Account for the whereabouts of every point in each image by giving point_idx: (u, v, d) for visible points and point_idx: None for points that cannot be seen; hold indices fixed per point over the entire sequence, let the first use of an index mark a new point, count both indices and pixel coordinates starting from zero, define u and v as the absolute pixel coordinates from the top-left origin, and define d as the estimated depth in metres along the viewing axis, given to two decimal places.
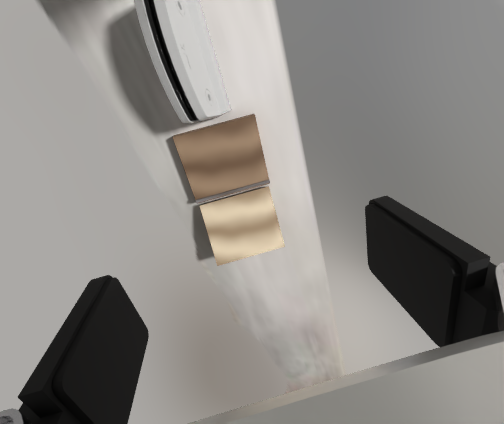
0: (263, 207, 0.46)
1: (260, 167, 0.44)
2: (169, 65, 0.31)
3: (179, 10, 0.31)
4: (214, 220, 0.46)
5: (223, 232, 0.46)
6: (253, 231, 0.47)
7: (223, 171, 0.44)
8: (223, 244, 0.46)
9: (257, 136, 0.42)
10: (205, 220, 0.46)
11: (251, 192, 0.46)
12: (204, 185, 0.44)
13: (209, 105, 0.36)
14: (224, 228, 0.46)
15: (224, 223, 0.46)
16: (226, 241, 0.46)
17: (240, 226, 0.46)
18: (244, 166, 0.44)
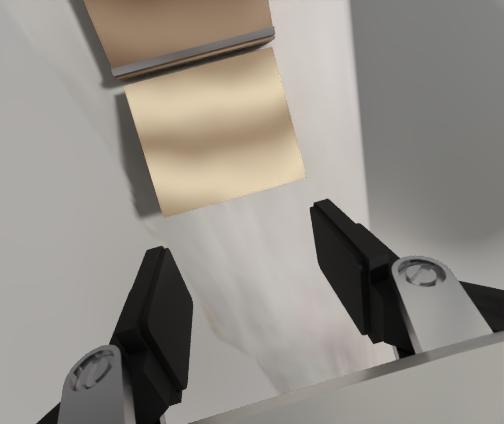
0: (261, 93, 0.22)
1: None
2: None
3: None
4: (156, 118, 0.22)
5: (174, 144, 0.22)
6: (240, 144, 0.22)
7: None
8: (176, 172, 0.22)
9: None
10: (136, 118, 0.21)
11: (235, 59, 0.22)
12: (128, 31, 0.20)
13: None
14: (178, 137, 0.22)
15: (178, 126, 0.22)
16: (181, 165, 0.22)
17: (212, 133, 0.22)
18: None
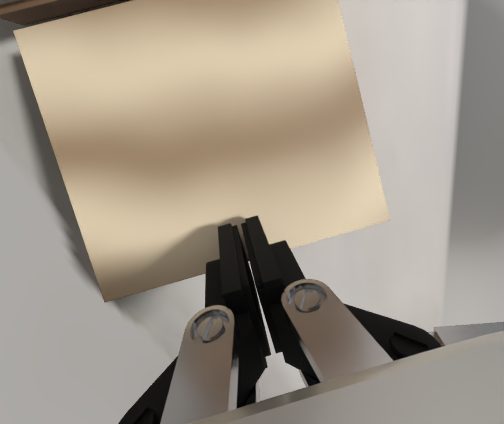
0: (302, 49, 0.11)
1: None
2: None
3: None
4: (86, 100, 0.10)
5: (125, 155, 0.11)
6: (259, 154, 0.11)
7: None
8: (128, 210, 0.11)
9: None
10: (43, 100, 0.10)
11: None
12: None
13: None
14: (131, 139, 0.11)
15: (133, 117, 0.10)
16: (140, 196, 0.11)
17: (202, 131, 0.11)
18: None
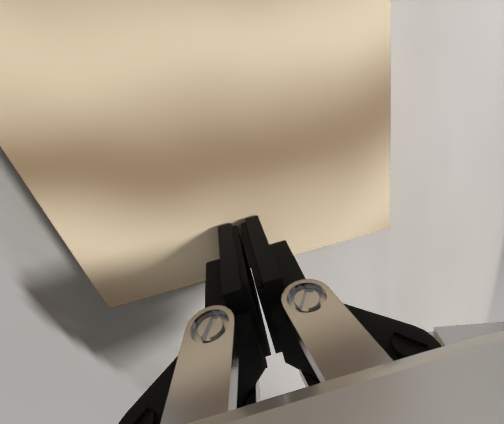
0: (331, 30, 0.08)
1: None
2: None
3: None
4: (41, 99, 0.08)
5: (108, 169, 0.09)
6: (267, 166, 0.10)
7: None
8: (121, 228, 0.10)
9: None
10: None
11: None
12: None
13: None
14: (113, 150, 0.09)
15: (111, 123, 0.08)
16: (133, 213, 0.10)
17: (201, 140, 0.09)
18: None
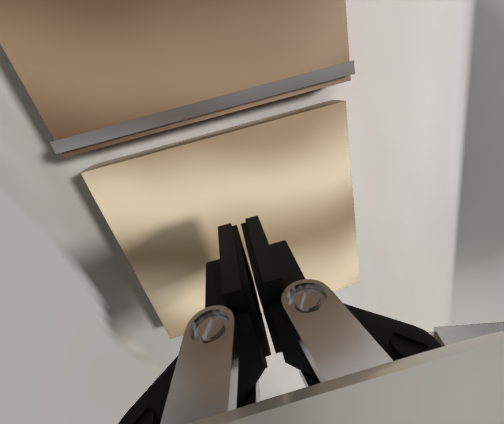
0: (315, 179, 0.14)
1: None
2: None
3: None
4: (147, 222, 0.13)
5: (180, 256, 0.14)
6: None
7: (160, 5, 0.10)
8: (184, 289, 0.15)
9: None
10: (113, 224, 0.13)
11: (280, 123, 0.12)
12: (82, 74, 0.10)
13: None
14: (184, 245, 0.14)
15: (185, 232, 0.14)
16: (192, 280, 0.15)
17: None
18: None
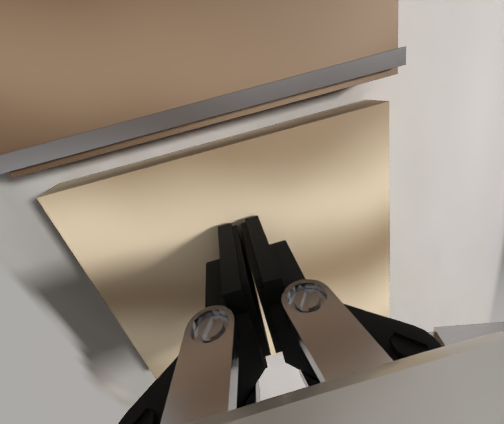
0: (345, 200, 0.11)
1: None
2: None
3: None
4: (129, 257, 0.10)
5: (172, 296, 0.11)
6: None
7: None
8: (178, 333, 0.12)
9: None
10: (85, 260, 0.10)
11: (302, 131, 0.09)
12: (29, 63, 0.07)
13: None
14: (177, 284, 0.11)
15: (178, 268, 0.11)
16: (187, 323, 0.12)
17: None
18: None
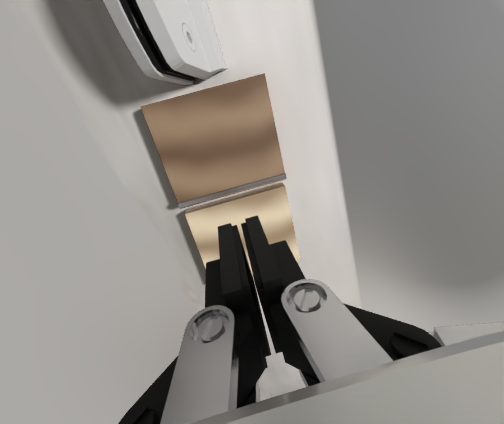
0: (275, 214, 0.33)
1: (272, 155, 0.30)
2: None
3: None
4: (207, 232, 0.33)
5: None
6: None
7: (218, 160, 0.30)
8: None
9: (268, 107, 0.28)
10: (194, 233, 0.33)
11: (260, 194, 0.32)
12: (190, 181, 0.30)
13: (189, 48, 0.22)
14: None
15: None
16: None
17: (243, 239, 0.34)
18: (249, 153, 0.30)
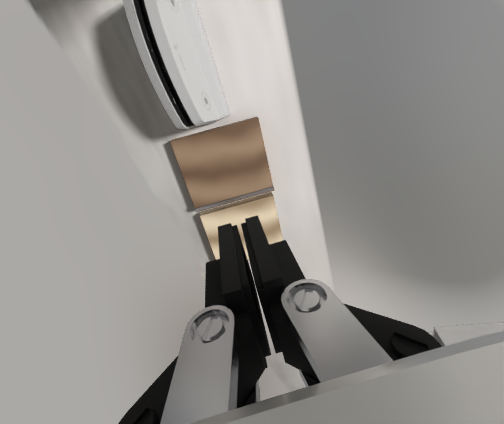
0: (266, 216, 0.45)
1: (264, 173, 0.42)
2: (161, 66, 0.29)
3: (172, 7, 0.29)
4: (216, 229, 0.45)
5: None
6: None
7: (224, 178, 0.41)
8: None
9: (261, 140, 0.40)
10: (206, 229, 0.44)
11: (254, 201, 0.43)
12: (204, 193, 0.42)
13: (206, 109, 0.33)
14: None
15: None
16: None
17: (242, 234, 0.46)
18: (247, 172, 0.41)
